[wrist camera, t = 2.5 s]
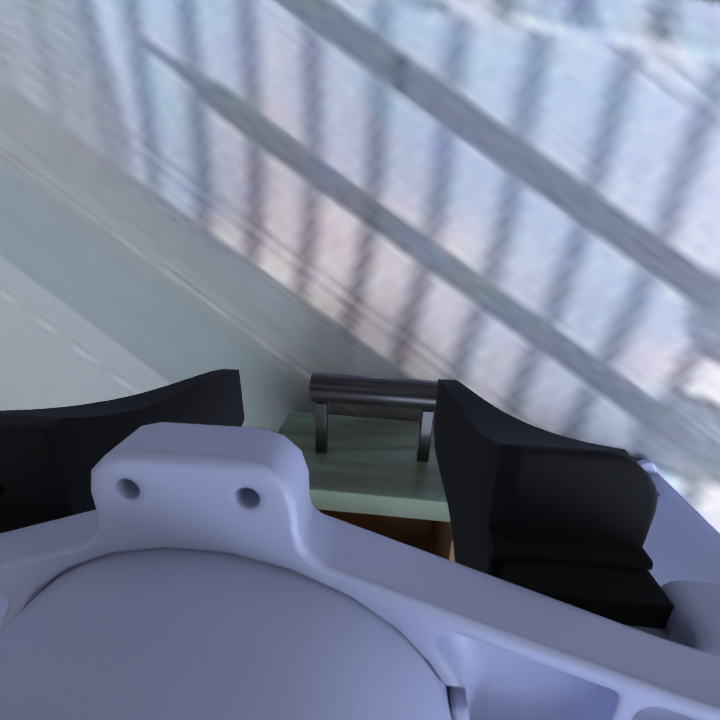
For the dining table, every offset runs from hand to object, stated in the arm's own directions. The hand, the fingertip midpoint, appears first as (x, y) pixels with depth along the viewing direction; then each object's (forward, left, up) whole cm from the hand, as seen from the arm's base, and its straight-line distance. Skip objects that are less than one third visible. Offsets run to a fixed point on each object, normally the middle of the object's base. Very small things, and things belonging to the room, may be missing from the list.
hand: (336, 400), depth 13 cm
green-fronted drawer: (+4, +9, -9) cm, 14 cm away
